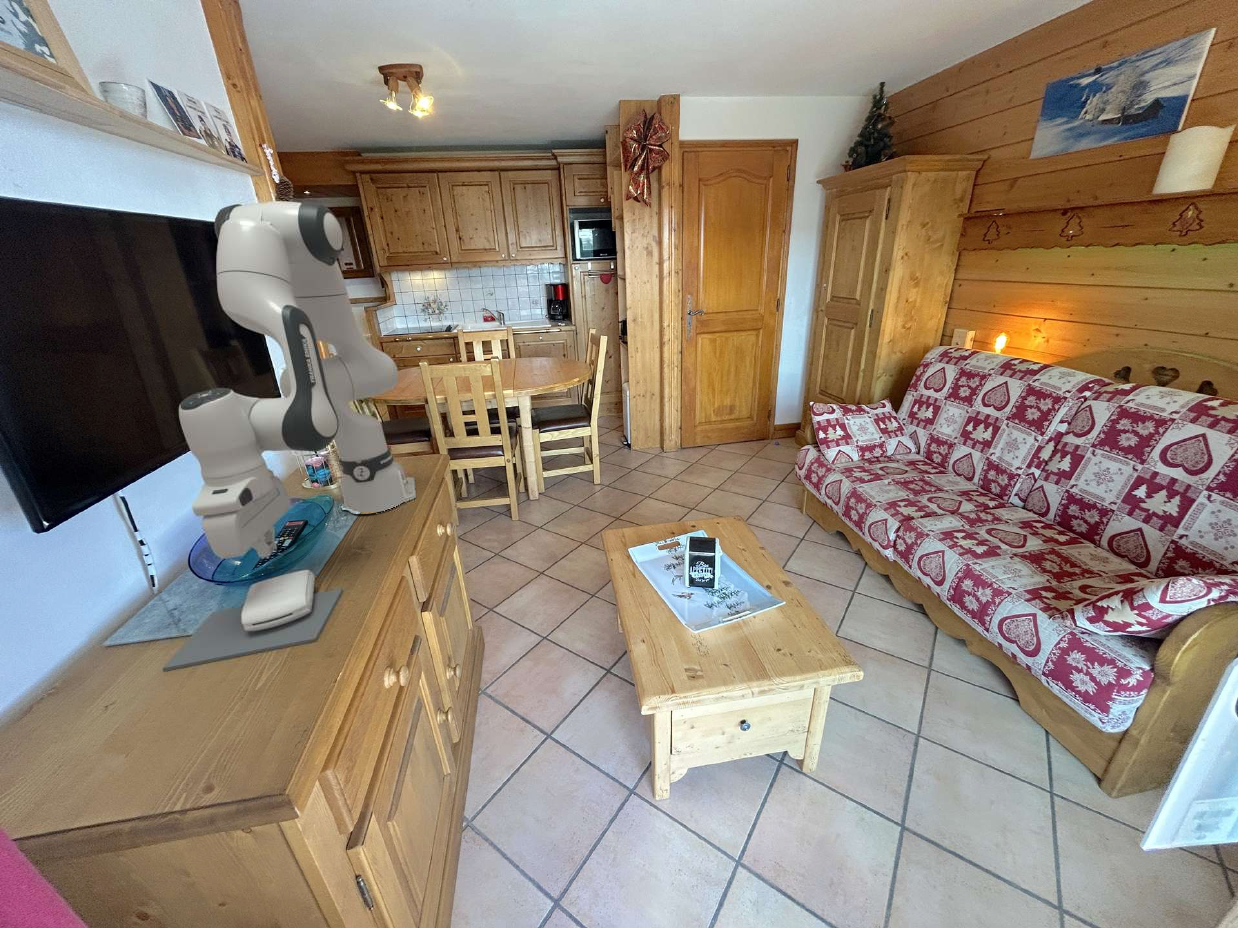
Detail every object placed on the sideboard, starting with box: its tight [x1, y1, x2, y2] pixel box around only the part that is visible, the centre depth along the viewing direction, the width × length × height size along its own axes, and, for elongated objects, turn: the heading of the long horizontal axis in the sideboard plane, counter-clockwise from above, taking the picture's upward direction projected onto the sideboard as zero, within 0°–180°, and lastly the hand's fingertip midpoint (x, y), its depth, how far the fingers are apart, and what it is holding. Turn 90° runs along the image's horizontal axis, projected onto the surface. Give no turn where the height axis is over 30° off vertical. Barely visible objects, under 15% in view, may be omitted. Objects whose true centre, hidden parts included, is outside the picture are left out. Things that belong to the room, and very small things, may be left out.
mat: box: [162, 588, 344, 672], centre depth 83 cm, size 14×22×1 cm, turn 102°
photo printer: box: [241, 569, 316, 631], centre depth 85 cm, size 10×4×12 cm
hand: (268, 553), depth 88 cm, fingers closed
